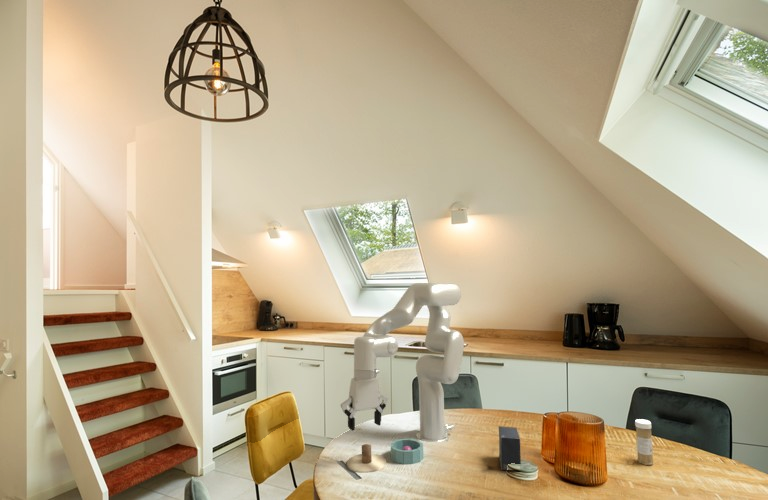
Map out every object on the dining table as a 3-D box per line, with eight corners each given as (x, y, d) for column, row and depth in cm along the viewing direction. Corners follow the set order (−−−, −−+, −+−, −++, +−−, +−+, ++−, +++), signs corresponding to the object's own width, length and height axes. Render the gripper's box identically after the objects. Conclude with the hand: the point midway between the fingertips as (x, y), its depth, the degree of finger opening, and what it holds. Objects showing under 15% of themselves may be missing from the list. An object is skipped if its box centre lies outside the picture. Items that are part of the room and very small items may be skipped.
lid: (374, 453, 148) (374, 435, 148) (393, 467, 137) (393, 448, 137) (340, 462, 141) (340, 443, 142) (358, 477, 130) (357, 457, 130)
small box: (522, 472, 133) (521, 438, 134) (501, 470, 134) (499, 437, 135) (518, 458, 143) (517, 426, 144) (498, 457, 145) (497, 425, 145)
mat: (375, 453, 149) (375, 451, 149) (397, 469, 136) (397, 467, 136) (336, 463, 142) (336, 461, 142) (356, 481, 129) (356, 479, 129)
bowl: (411, 450, 151) (411, 436, 151) (429, 462, 141) (429, 446, 142) (385, 457, 145) (384, 443, 146) (402, 470, 136) (401, 454, 136)
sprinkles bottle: (642, 458, 141) (640, 417, 142) (656, 464, 137) (654, 421, 138) (634, 461, 139) (631, 420, 140) (648, 466, 135) (645, 424, 136)
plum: (408, 453, 146) (408, 443, 146) (414, 457, 143) (414, 446, 143) (399, 456, 144) (399, 445, 144) (405, 460, 141) (405, 449, 141)
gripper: (381, 369, 148) (381, 419, 147) (336, 374, 140) (336, 427, 138) (392, 373, 142) (392, 425, 140) (346, 379, 133) (345, 434, 132)
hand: (364, 426), depth 139 cm, fingers open, 9 cm apart
